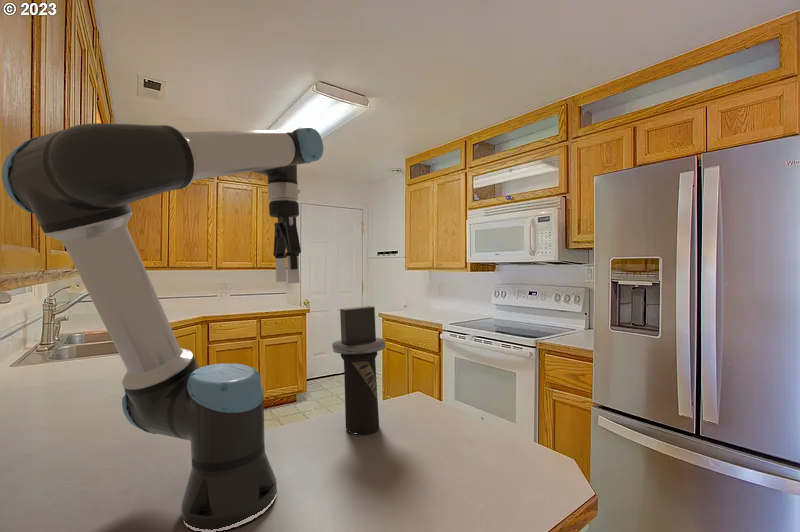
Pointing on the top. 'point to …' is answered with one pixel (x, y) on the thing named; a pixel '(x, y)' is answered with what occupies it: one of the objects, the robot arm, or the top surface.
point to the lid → (358, 332)
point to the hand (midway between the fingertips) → (287, 282)
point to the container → (361, 393)
